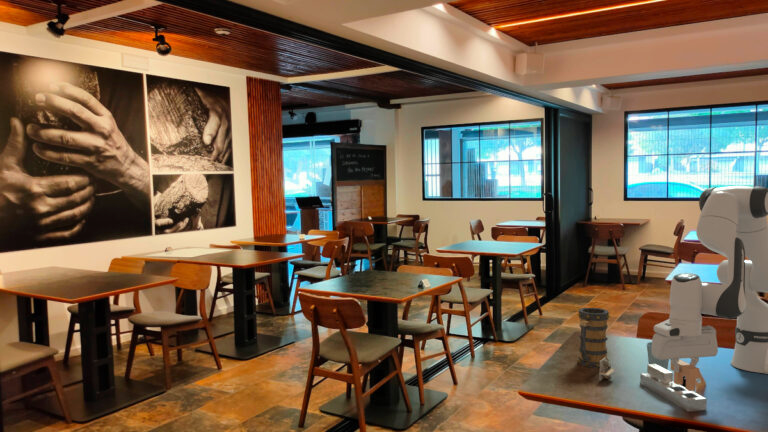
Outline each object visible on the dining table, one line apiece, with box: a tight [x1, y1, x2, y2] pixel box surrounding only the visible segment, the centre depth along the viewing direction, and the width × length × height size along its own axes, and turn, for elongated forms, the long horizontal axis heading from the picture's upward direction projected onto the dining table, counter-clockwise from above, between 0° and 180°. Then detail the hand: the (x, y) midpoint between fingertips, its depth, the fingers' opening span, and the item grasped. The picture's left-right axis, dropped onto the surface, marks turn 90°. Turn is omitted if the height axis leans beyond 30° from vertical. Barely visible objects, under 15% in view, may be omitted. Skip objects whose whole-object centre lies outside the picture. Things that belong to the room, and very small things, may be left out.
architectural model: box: [599, 357, 616, 382], centre depth 199 cm, size 3×7×7 cm, turn 141°
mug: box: [576, 307, 611, 369], centre depth 215 cm, size 13×17×20 cm
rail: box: [639, 363, 707, 413], centre depth 184 cm, size 6×24×7 cm, turn 9°
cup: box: [646, 341, 670, 370], centre depth 205 cm, size 8×8×10 cm
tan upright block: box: [670, 359, 700, 392], centre depth 177 cm, size 3×9×7 cm, turn 9°
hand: (684, 371), depth 177 cm, fingers closed on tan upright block, 3 cm apart
